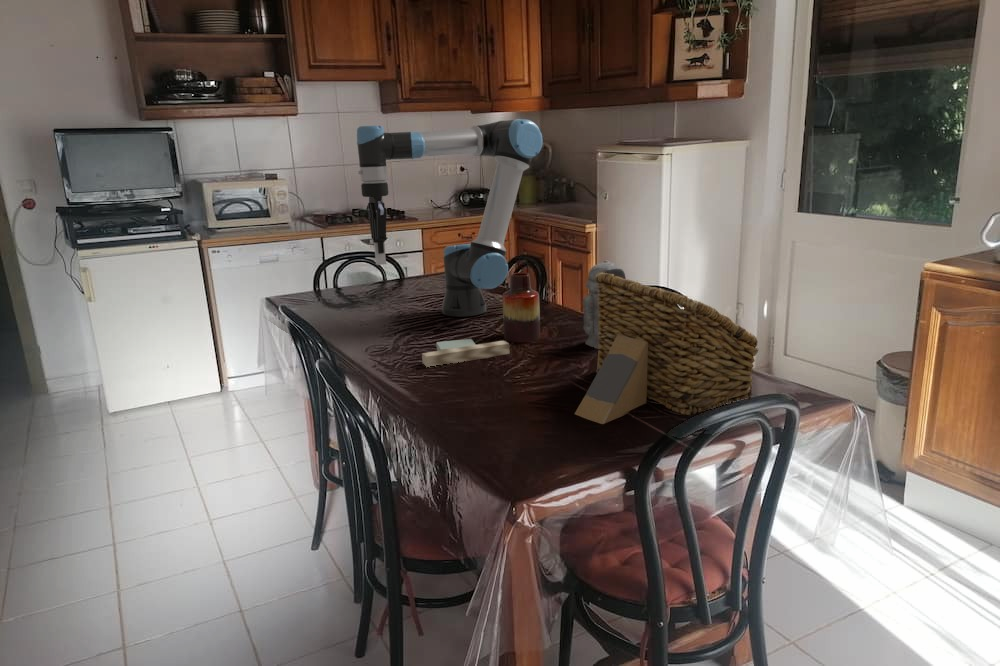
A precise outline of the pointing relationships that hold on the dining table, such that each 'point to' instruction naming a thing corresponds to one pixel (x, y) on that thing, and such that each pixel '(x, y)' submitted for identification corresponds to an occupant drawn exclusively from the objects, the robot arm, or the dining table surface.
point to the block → (454, 344)
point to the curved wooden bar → (465, 353)
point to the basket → (677, 344)
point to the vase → (521, 310)
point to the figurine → (596, 300)
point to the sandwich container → (617, 382)
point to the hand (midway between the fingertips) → (380, 264)
